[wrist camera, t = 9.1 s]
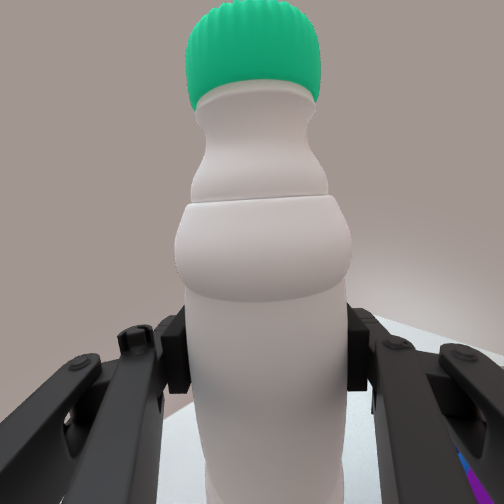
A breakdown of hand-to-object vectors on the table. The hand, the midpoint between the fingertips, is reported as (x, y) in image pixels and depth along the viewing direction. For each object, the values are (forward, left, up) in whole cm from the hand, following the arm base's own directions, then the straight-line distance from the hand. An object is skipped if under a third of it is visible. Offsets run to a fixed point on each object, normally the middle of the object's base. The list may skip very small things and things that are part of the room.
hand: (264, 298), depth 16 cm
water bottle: (0, -5, -13) cm, 14 cm away
